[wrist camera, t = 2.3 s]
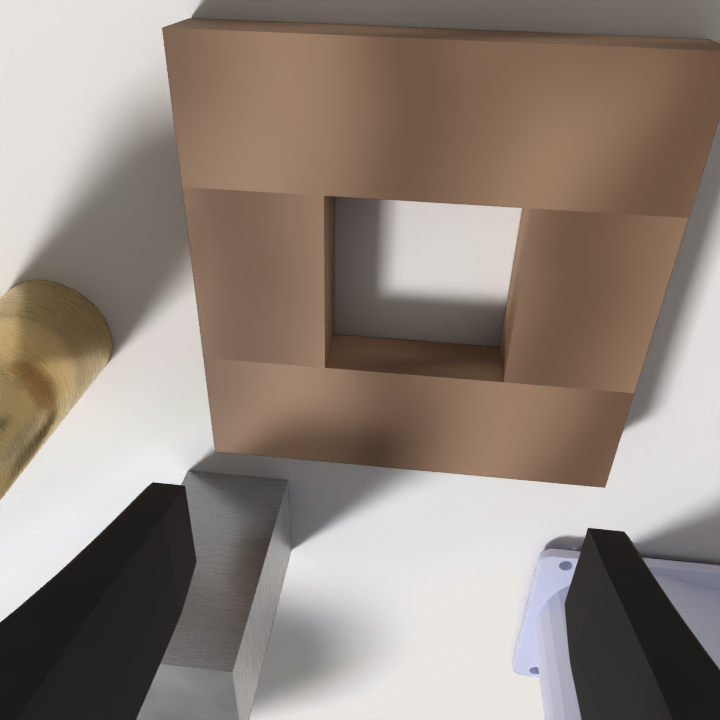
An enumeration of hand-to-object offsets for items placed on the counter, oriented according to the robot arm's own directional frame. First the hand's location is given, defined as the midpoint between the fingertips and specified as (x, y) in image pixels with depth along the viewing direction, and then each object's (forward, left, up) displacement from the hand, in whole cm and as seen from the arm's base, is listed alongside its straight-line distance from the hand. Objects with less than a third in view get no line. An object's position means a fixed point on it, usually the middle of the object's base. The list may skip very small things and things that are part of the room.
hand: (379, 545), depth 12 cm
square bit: (+6, +11, -10) cm, 16 cm away
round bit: (+12, +3, -10) cm, 16 cm away
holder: (0, -1, -10) cm, 10 cm away
